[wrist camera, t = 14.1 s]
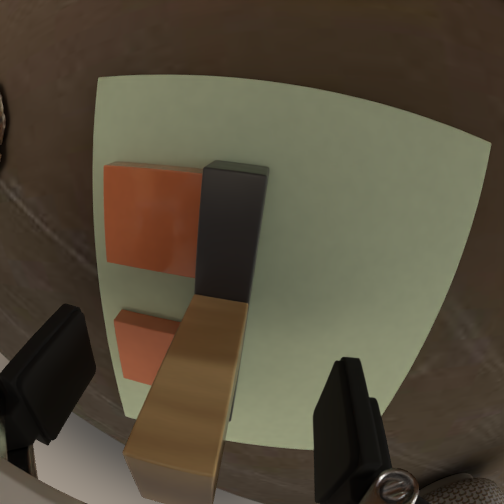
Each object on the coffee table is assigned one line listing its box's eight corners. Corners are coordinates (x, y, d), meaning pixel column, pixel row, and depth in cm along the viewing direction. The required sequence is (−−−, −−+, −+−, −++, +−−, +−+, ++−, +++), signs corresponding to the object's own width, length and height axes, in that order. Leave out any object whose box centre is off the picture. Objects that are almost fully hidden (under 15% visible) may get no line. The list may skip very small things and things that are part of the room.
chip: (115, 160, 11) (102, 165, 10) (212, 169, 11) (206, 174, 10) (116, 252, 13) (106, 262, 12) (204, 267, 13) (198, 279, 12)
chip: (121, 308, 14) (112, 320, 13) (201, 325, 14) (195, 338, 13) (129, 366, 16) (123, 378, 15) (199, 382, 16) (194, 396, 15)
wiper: (214, 159, 11) (69, 259, 3) (270, 166, 11) (235, 292, 3) (199, 390, 16) (158, 529, 8) (235, 396, 16) (208, 541, 8)
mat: (102, 77, 10) (97, 77, 10) (486, 142, 10) (491, 143, 9) (127, 412, 19) (125, 416, 18) (356, 446, 18) (356, 451, 18)
